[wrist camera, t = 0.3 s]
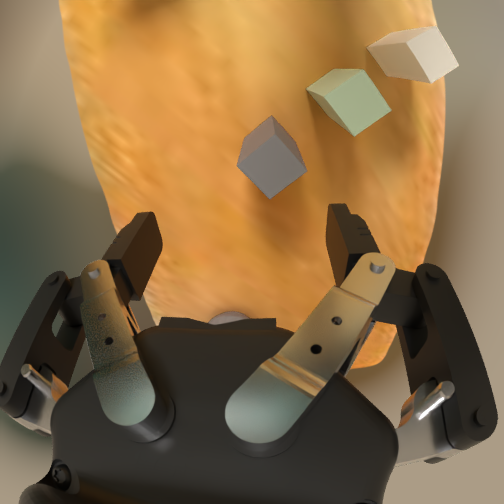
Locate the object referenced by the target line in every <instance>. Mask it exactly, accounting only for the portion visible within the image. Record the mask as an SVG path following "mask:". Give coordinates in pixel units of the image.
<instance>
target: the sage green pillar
mask: <svg viewBox="0 0 504 504" xmlns="http://www.w3.org/2000/svg"><path fill="white" fill-rule="evenodd" d="M306 90H307V91H308V92H309V93H310V95H311V96H312V97H313V98H314V99H315V101H316V102H317V103H318V104H319V105H320V107H321V108H322V109H323V110H324V112H325V113H326V114H327V115H328V117H330V118H331V119H332V120H334V121H335V122H336V123H338V124H339V125H340V126H341V127H343V128H344V129H345V130H347V131H348V132H349V133H350V134H351V135H353V136H354V137H355V136H356V135H357V134H359V133H360V132H362V131H363V130H364V129H366V128H367V127H369V126H370V125H372V124H373V123H374V122H376V121H377V120H379V119H380V118H382V117H383V116H384V115H386V114H387V113H389V112H390V111H392V110H391V109H390V107H389V106H388V104H387V103H386V101H385V99H384V98H383V96H382V95H381V93H380V92H379V90H378V89H377V87H376V86H375V85H374V83H373V82H372V80H371V79H370V78H369V76H368V75H367V73H366V72H365V71H364V69H333V70H331V71H330V72H328V73H327V74H326V75H324V76H323V77H321V78H320V79H319V80H317V81H316V82H314V83H313V84H312V85H310V86H309V87H308V88H306Z"/></svg>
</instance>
